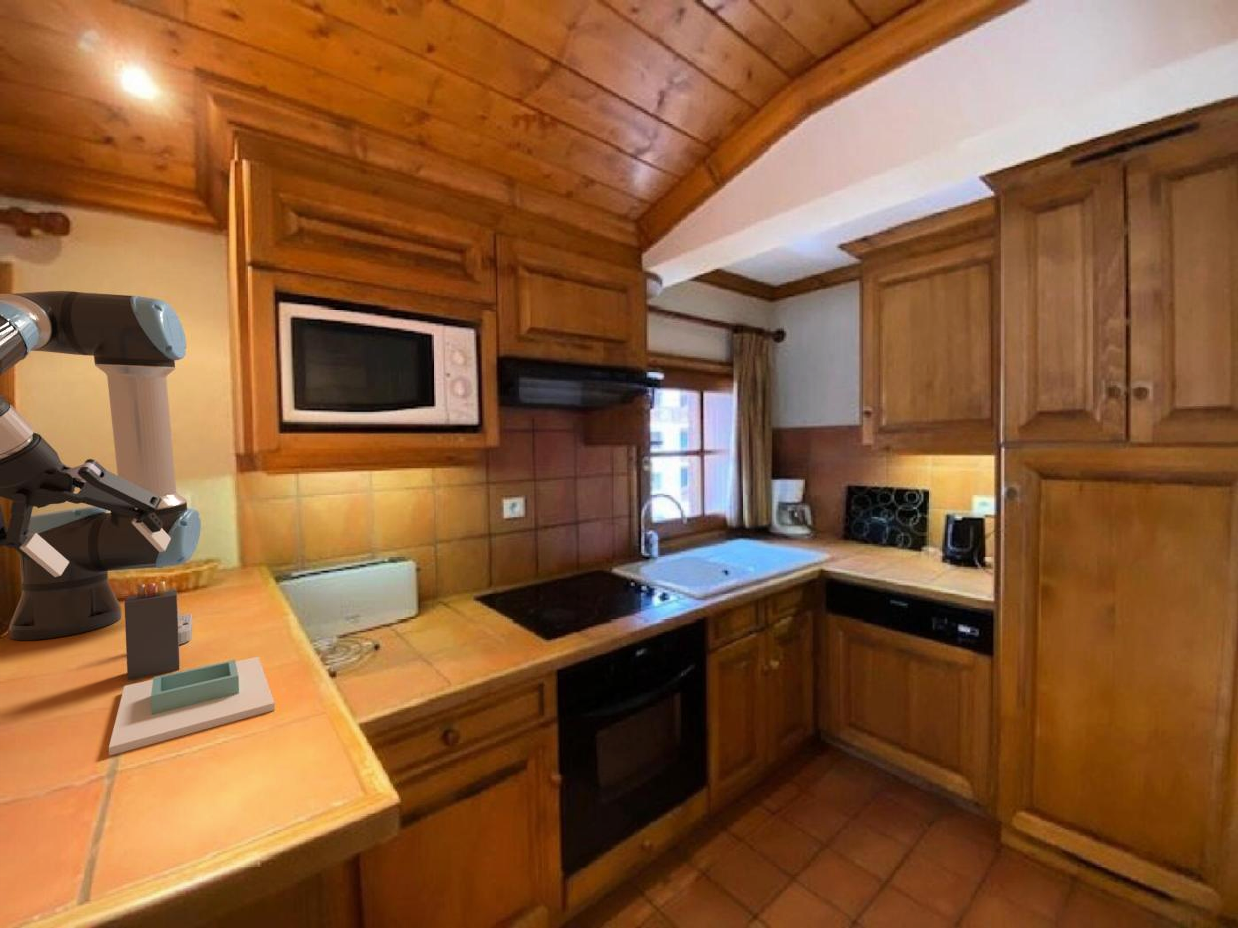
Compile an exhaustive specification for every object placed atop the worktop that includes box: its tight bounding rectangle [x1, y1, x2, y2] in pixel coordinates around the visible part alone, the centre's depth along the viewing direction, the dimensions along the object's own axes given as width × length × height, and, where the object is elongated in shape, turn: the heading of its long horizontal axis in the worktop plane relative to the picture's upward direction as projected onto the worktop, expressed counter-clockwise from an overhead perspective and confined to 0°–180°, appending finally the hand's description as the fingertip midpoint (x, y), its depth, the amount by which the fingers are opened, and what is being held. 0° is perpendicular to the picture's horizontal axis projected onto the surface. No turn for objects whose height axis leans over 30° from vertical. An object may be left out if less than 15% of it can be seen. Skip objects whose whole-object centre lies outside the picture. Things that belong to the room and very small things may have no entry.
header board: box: [108, 656, 276, 757], centre depth 73 cm, size 20×16×4 cm
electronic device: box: [165, 588, 194, 645], centre depth 98 cm, size 5×10×15 cm
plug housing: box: [124, 580, 180, 682], centre depth 82 cm, size 4×6×14 cm, turn 130°
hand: (114, 557), depth 79 cm, fingers open, 13 cm apart
